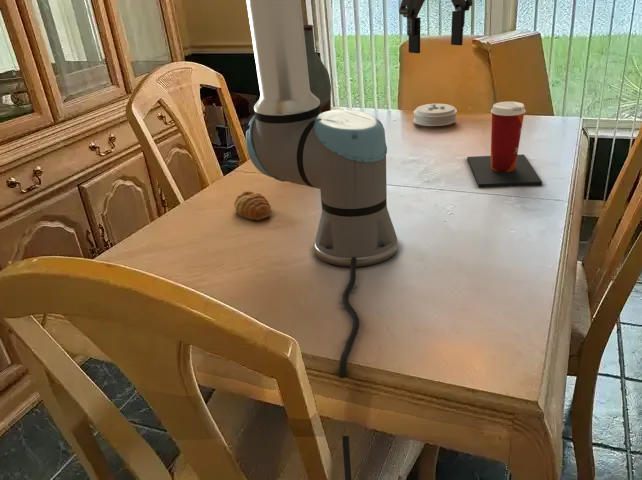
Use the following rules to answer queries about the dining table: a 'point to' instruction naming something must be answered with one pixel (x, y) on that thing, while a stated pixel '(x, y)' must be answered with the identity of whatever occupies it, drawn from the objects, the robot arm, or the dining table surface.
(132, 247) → the dining table surface
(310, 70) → the bottle
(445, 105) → the lid
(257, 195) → the pastry
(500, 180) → the dark mat
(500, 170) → the paper cup
